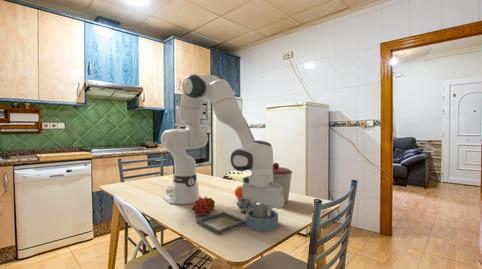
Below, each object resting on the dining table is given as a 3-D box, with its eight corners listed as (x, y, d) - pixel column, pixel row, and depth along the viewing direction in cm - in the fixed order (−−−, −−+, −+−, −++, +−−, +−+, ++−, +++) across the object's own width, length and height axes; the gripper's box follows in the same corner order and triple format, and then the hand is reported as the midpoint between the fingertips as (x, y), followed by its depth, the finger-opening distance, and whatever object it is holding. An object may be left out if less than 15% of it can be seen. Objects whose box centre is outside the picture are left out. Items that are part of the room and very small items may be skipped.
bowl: (239, 224, 100) (239, 213, 100) (260, 216, 109) (260, 206, 109) (263, 234, 91) (263, 222, 91) (284, 224, 100) (284, 214, 100)
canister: (275, 195, 143) (275, 159, 142) (299, 203, 128) (300, 163, 128) (251, 200, 132) (251, 162, 131) (275, 209, 118) (275, 166, 117)
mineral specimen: (243, 222, 115) (256, 211, 122) (250, 215, 110) (263, 204, 117) (230, 205, 118) (243, 196, 125) (236, 198, 113) (250, 188, 119)
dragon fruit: (217, 215, 115) (193, 224, 108) (209, 201, 120) (186, 209, 113) (220, 204, 110) (196, 213, 103) (212, 190, 115) (188, 198, 108)
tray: (196, 223, 101) (196, 219, 100) (223, 214, 110) (223, 211, 110) (218, 235, 90) (218, 230, 90) (245, 224, 100) (245, 220, 100)
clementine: (239, 201, 130) (239, 188, 130) (230, 198, 135) (230, 186, 135) (249, 198, 136) (249, 185, 136) (240, 195, 141) (240, 183, 141)
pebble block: (253, 218, 100) (253, 206, 100) (261, 215, 103) (261, 203, 103) (262, 221, 96) (262, 209, 96) (270, 218, 100) (270, 206, 100)
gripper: (287, 183, 94) (287, 218, 95) (249, 175, 109) (249, 205, 109) (277, 186, 90) (277, 223, 90) (239, 177, 104) (239, 209, 105)
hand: (261, 213), depth 100 cm, fingers closed on pebble block, 5 cm apart
